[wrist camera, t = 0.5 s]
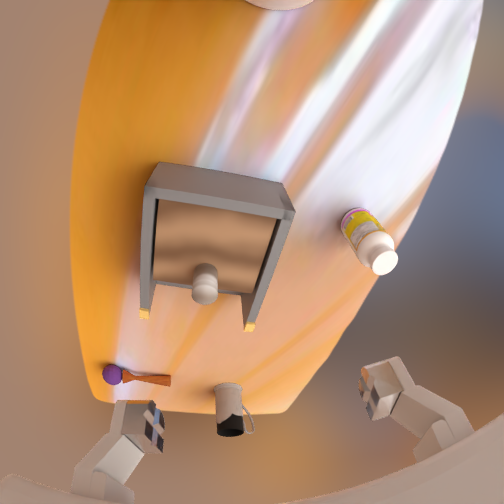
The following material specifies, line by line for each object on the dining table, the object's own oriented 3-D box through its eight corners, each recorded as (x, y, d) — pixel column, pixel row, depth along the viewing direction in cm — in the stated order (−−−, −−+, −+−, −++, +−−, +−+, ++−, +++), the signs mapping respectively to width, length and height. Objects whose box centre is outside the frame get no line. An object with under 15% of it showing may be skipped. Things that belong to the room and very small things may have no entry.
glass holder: (226, 379, 80) (229, 425, 68) (260, 392, 87) (265, 434, 75) (207, 390, 83) (208, 433, 71) (241, 402, 90) (244, 441, 78)
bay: (159, 161, 43) (143, 187, 34) (282, 183, 47) (296, 214, 39) (149, 278, 56) (139, 317, 48) (247, 292, 60) (252, 332, 52)
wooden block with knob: (168, 177, 43) (151, 217, 33) (268, 194, 47) (283, 238, 36) (160, 250, 51) (147, 302, 40) (248, 263, 54) (255, 316, 44)
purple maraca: (169, 393, 77) (103, 385, 71) (169, 374, 81) (105, 367, 75) (170, 387, 73) (100, 379, 67) (170, 368, 77) (102, 360, 71)
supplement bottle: (372, 231, 54) (403, 272, 44) (342, 241, 55) (367, 285, 45) (369, 202, 51) (403, 240, 40) (337, 212, 51) (364, 254, 41)
